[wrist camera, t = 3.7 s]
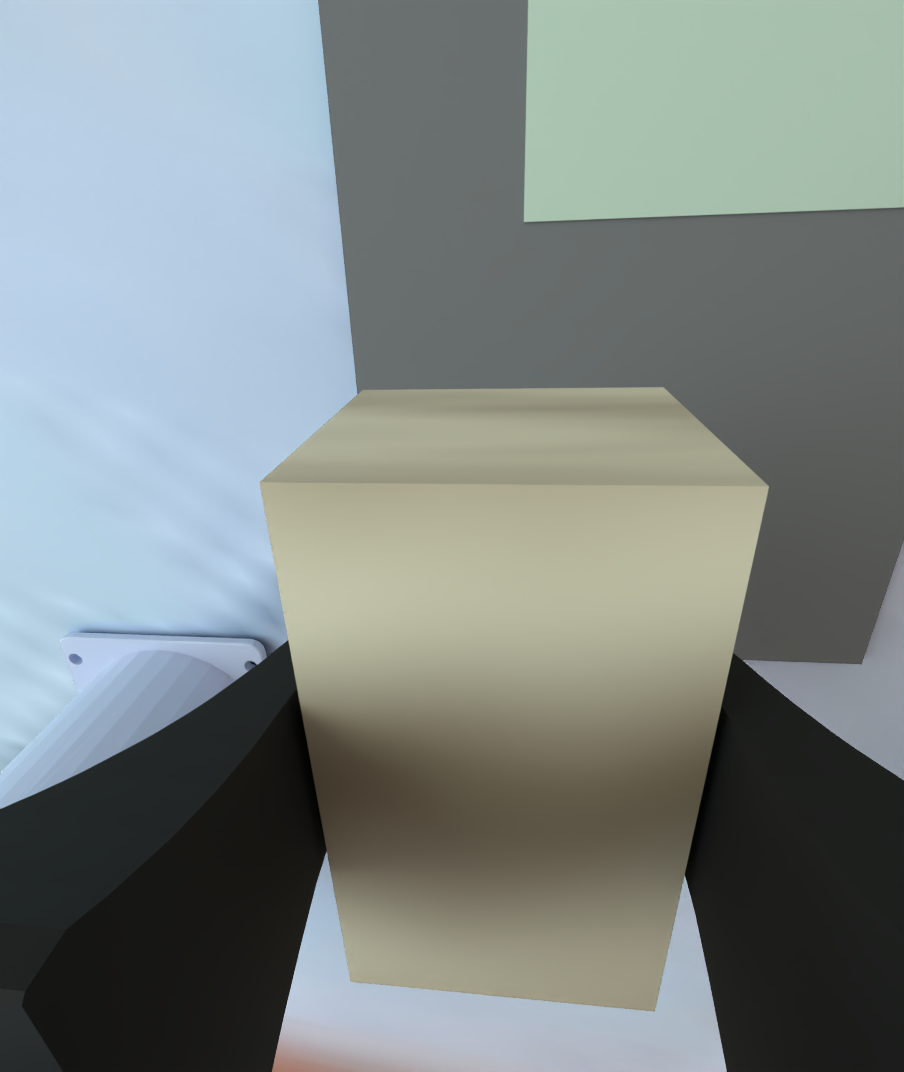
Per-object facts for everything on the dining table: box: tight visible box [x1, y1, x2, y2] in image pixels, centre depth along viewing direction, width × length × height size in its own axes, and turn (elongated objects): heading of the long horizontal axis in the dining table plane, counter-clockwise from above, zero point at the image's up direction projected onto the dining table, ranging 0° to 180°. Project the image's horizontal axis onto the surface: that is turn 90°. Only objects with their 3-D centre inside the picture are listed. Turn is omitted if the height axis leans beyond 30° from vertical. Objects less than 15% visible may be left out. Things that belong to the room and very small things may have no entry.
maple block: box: [260, 387, 769, 1011], centre depth 10 cm, size 9×5×4 cm, turn 2°
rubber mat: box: [318, 0, 904, 664], centre depth 16 cm, size 20×16×1 cm
